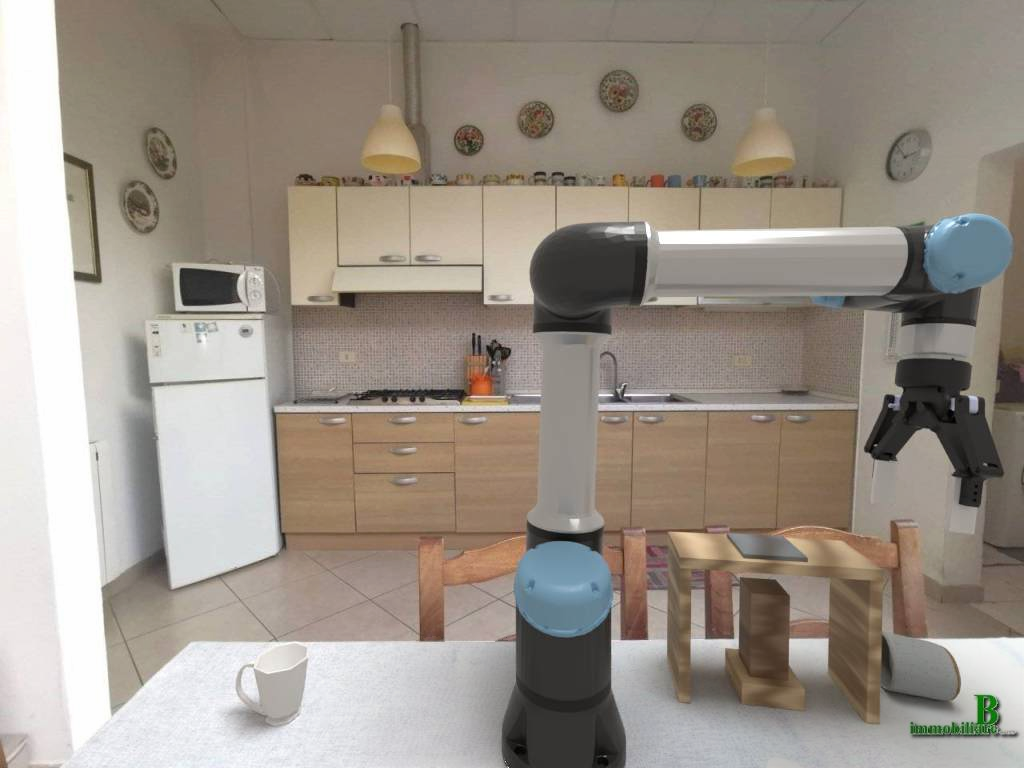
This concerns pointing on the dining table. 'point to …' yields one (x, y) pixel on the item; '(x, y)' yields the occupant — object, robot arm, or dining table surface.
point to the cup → (278, 682)
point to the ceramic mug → (918, 668)
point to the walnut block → (764, 628)
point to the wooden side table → (848, 570)
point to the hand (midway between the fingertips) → (915, 517)
